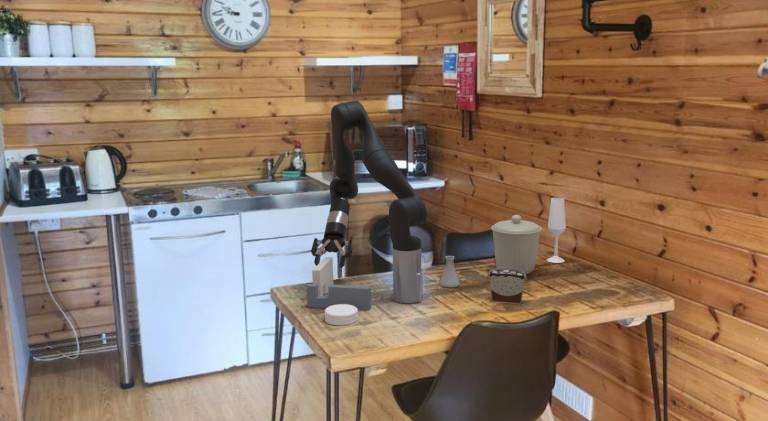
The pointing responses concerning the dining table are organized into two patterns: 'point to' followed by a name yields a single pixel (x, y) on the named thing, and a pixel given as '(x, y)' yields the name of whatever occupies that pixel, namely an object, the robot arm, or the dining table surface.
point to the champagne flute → (556, 224)
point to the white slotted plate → (323, 275)
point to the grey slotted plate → (340, 296)
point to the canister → (516, 243)
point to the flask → (449, 274)
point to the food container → (506, 285)
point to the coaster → (341, 314)
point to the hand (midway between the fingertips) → (328, 266)
